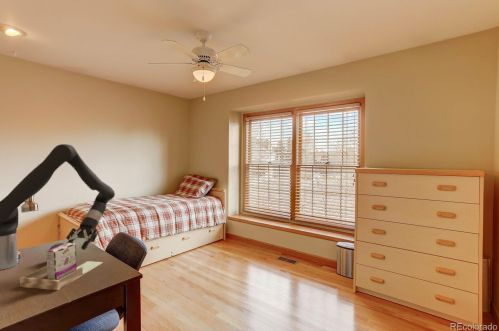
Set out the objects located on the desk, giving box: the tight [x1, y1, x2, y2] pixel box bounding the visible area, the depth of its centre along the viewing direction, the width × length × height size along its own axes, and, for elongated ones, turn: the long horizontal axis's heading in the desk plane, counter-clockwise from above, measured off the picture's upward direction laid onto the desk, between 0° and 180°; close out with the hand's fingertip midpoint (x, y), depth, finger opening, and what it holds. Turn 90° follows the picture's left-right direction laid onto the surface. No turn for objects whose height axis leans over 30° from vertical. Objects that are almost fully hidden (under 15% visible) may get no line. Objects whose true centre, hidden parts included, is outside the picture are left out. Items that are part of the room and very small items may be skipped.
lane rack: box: [19, 265, 84, 291], centre depth 121 cm, size 19×14×4 cm
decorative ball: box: [48, 242, 65, 250], centre depth 143 cm, size 10×10×10 cm
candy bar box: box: [46, 242, 77, 280], centre depth 121 cm, size 11×5×16 cm, turn 168°
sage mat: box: [76, 260, 104, 275], centre depth 135 cm, size 9×14×1 cm, turn 172°
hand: (74, 248), depth 128 cm, fingers open, 8 cm apart
